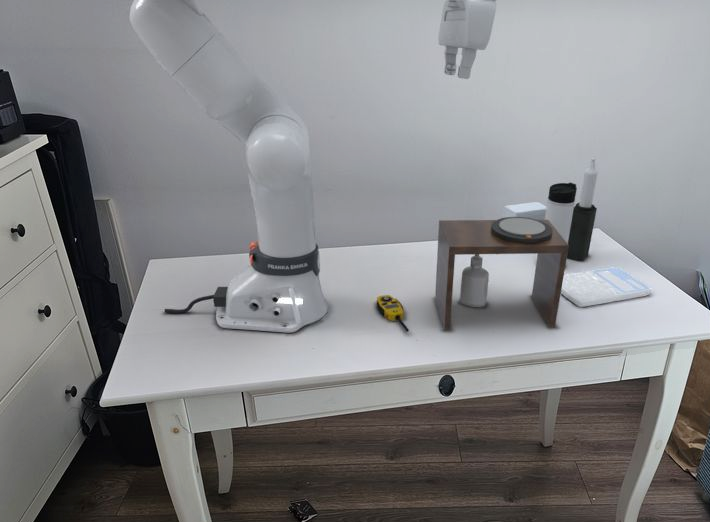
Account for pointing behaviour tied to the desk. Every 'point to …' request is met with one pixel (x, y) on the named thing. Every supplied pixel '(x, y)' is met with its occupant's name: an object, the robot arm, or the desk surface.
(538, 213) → the cosmetics box
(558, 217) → the travel mug
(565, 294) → the calculator
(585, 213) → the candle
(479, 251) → the desk shelf
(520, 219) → the hot plate
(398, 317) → the yellow walkie talkie
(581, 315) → the desk surface
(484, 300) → the eye dropper bottle
